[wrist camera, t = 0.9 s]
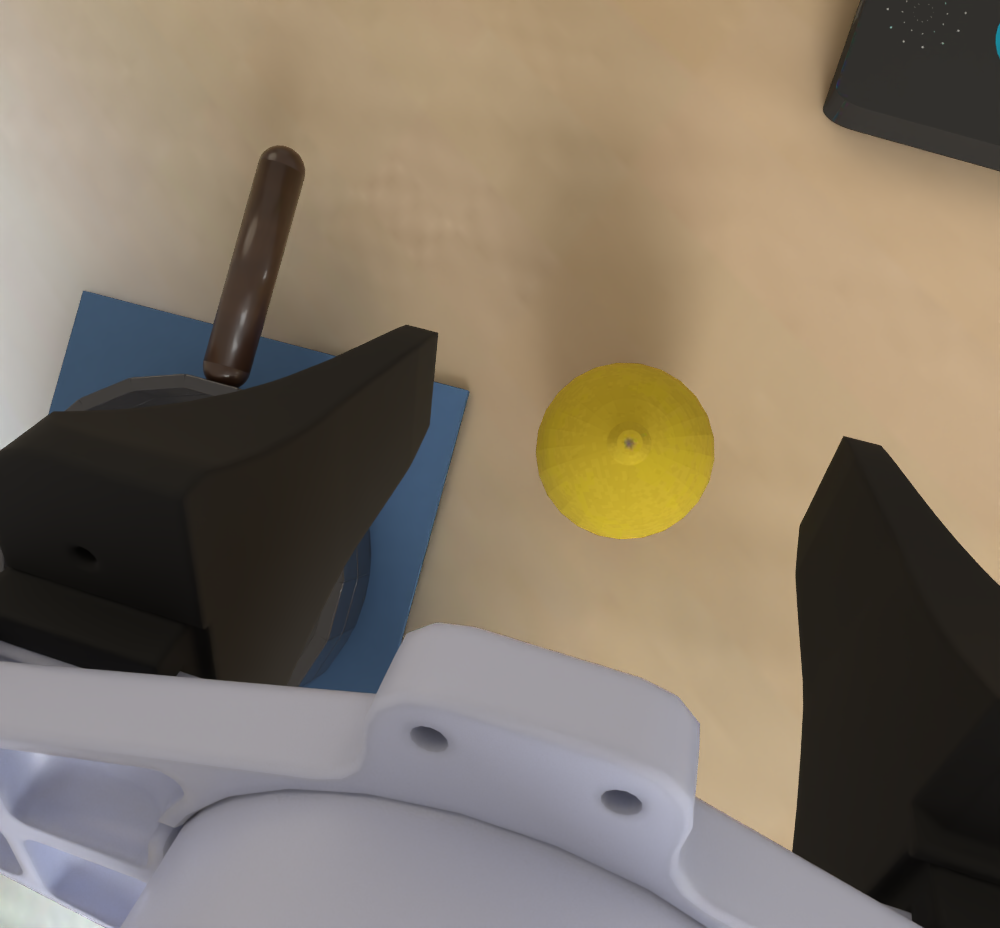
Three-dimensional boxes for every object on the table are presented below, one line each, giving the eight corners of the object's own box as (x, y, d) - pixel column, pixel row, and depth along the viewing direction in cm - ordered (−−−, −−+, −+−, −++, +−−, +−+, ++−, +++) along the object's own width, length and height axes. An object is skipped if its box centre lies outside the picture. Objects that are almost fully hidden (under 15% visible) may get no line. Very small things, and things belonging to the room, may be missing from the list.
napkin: (349, 831, 30) (347, 834, 29) (-29, 704, 32) (-35, 706, 31) (469, 391, 30) (468, 390, 30) (87, 292, 32) (82, 290, 32)
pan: (322, 760, 30) (284, 797, 26) (24, 663, 32) (-52, 685, 28) (411, 436, 30) (386, 427, 26) (110, 355, 32) (46, 336, 28)
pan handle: (251, 397, 29) (231, 391, 27) (210, 386, 29) (188, 380, 27) (316, 162, 29) (300, 142, 27) (275, 153, 29) (257, 132, 27)
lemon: (518, 424, 30) (492, 397, 22) (653, 357, 29) (677, 304, 21) (584, 559, 29) (582, 581, 21) (722, 493, 29) (773, 490, 21)
